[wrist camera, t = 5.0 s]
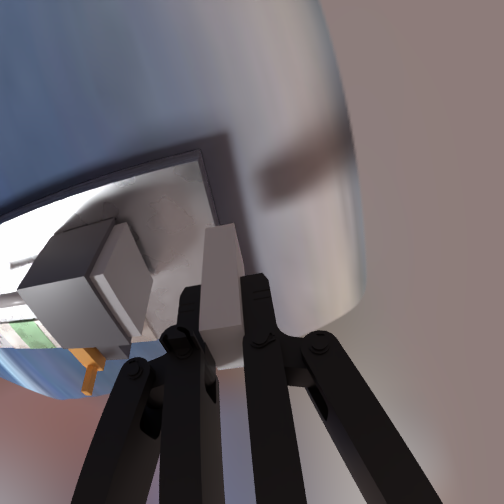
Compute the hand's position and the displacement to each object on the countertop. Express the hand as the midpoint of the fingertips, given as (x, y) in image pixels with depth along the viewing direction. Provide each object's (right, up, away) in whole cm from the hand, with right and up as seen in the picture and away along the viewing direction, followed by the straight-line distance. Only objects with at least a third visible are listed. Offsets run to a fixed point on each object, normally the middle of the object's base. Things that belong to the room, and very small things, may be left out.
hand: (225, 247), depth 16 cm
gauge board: (-15, -2, +4) cm, 16 cm away
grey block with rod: (-12, -3, +3) cm, 12 cm away
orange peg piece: (-11, -7, +5) cm, 14 cm away
